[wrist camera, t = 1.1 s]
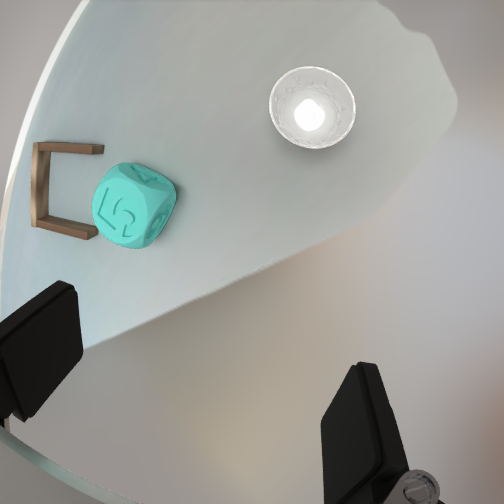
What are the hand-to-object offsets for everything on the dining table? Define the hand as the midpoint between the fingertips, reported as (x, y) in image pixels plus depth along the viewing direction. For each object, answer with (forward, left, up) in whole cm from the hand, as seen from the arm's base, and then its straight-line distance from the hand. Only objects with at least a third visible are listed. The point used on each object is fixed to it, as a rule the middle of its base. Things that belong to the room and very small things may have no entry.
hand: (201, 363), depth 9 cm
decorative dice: (+3, -16, -31) cm, 35 cm away
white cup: (-11, +3, -31) cm, 33 cm away
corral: (+3, -29, -31) cm, 42 cm away
